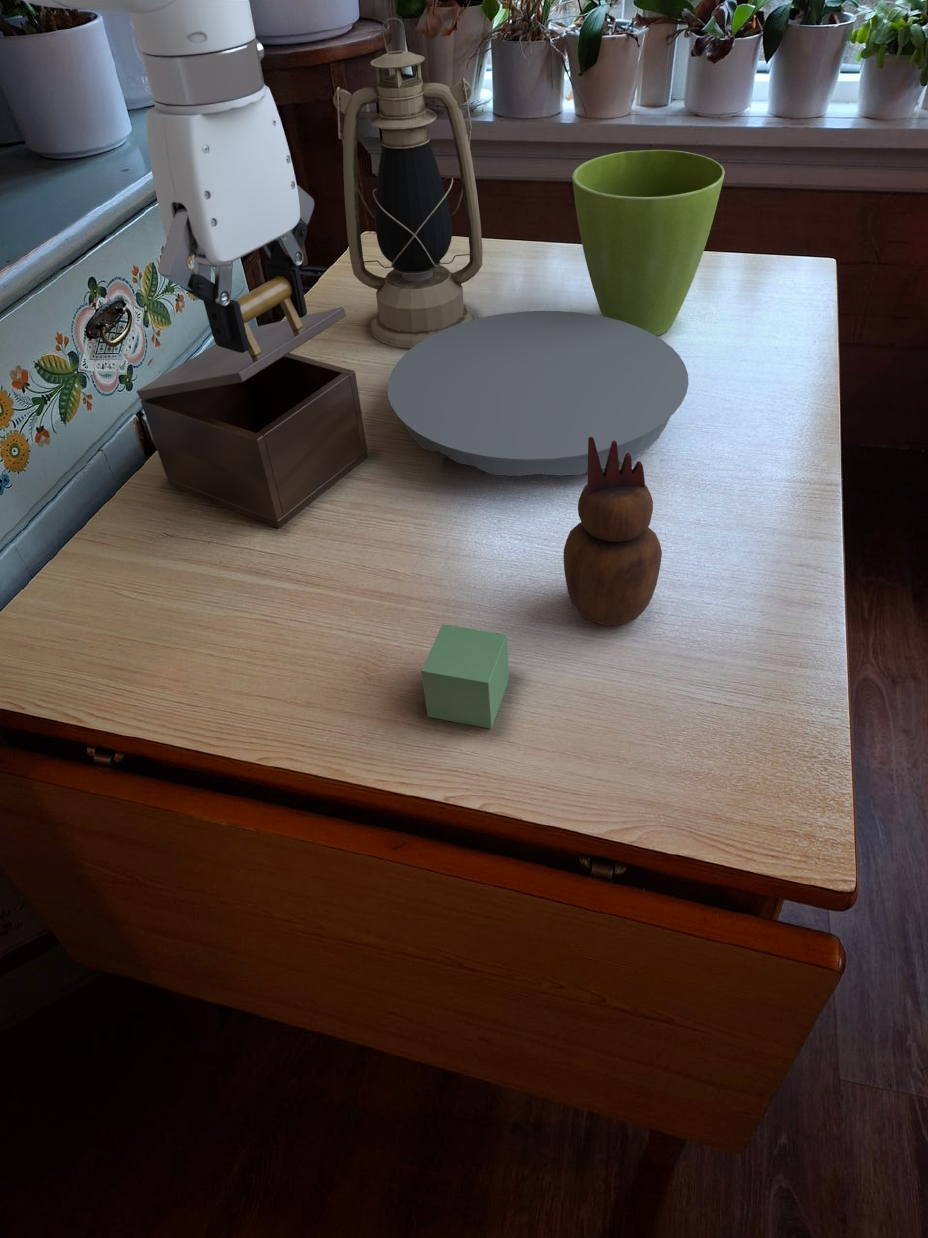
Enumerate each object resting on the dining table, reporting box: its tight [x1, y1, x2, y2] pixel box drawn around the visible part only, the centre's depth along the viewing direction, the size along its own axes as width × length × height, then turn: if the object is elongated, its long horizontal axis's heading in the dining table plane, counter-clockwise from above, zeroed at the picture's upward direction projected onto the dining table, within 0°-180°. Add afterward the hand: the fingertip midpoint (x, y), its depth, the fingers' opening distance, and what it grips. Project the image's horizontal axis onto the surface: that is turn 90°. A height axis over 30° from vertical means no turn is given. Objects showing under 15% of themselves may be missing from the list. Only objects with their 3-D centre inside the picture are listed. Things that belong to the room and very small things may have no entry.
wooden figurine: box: [563, 437, 663, 626], centre depth 62 cm, size 7×6×15 cm
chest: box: [140, 352, 369, 529], centre depth 81 cm, size 14×13×9 cm
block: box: [420, 624, 510, 730], centre depth 60 cm, size 4×4×4 cm
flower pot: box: [571, 149, 725, 337], centre depth 96 cm, size 15×15×16 cm
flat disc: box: [386, 310, 689, 477], centre depth 87 cm, size 28×28×4 cm
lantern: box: [332, 17, 484, 350], centre depth 94 cm, size 14×12×30 cm
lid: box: [136, 276, 347, 401], centre depth 75 cm, size 14×13×5 cm
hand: (262, 328), depth 73 cm, fingers closed on lid, 6 cm apart
